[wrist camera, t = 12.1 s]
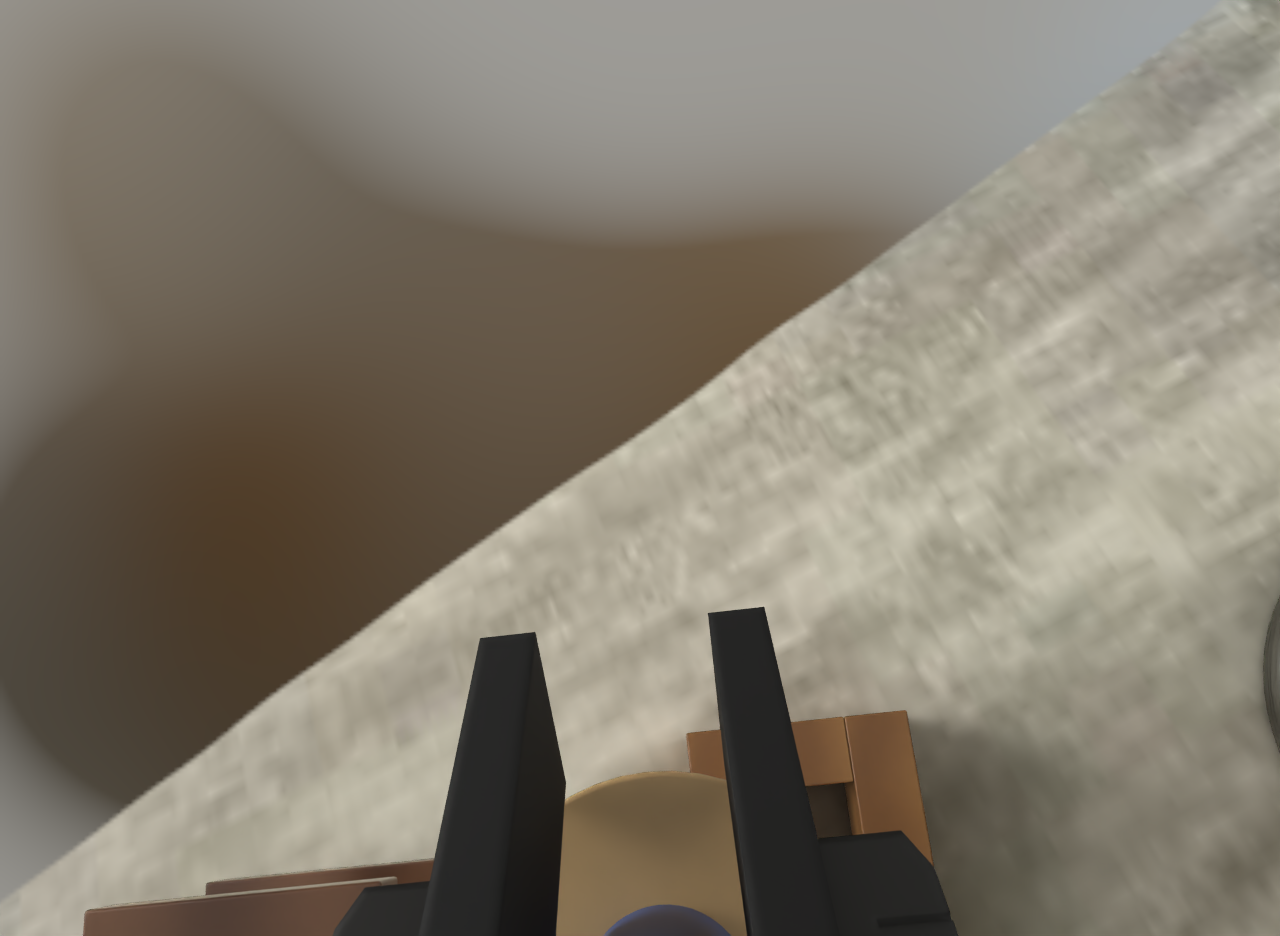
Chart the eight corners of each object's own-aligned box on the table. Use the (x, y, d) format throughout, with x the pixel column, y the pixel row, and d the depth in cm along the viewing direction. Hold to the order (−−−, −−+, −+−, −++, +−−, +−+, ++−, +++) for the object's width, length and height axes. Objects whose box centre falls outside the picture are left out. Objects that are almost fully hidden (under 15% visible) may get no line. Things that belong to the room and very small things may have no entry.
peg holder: (892, 716, 38) (906, 709, 35) (962, 1122, 33) (985, 1153, 30) (688, 737, 38) (685, 733, 35) (732, 1142, 34) (734, 1175, 31)
